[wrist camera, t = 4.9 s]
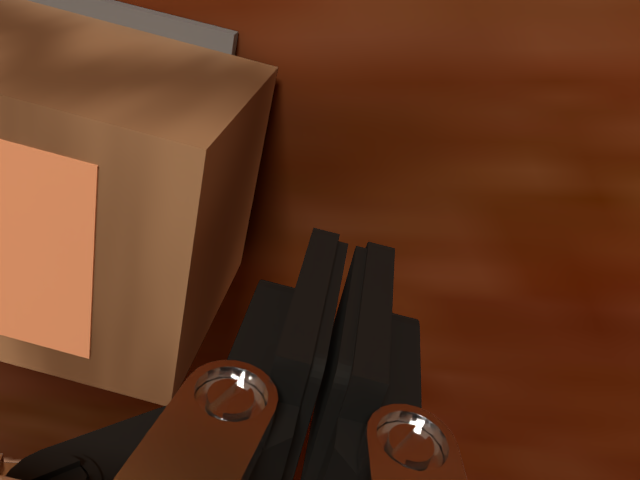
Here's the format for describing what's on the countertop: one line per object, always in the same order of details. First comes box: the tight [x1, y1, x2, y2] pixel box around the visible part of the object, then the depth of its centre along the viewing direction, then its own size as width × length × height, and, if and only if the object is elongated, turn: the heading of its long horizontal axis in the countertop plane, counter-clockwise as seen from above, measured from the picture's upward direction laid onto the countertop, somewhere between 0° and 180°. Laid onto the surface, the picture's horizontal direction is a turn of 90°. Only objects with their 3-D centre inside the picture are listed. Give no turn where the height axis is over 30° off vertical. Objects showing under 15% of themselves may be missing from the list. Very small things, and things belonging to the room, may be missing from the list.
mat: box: [28, 0, 238, 56], centre depth 17 cm, size 10×7×1 cm
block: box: [0, 0, 278, 406], centre depth 14 cm, size 6×6×8 cm
